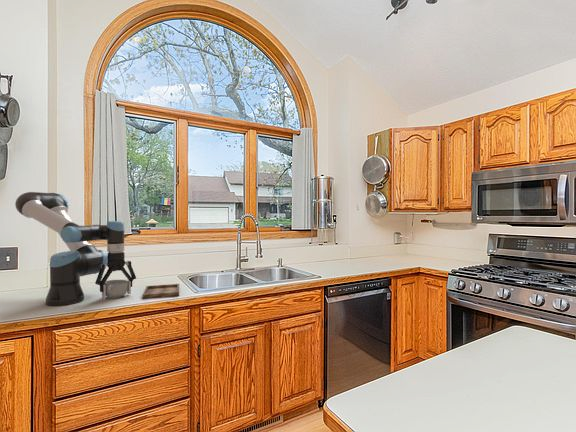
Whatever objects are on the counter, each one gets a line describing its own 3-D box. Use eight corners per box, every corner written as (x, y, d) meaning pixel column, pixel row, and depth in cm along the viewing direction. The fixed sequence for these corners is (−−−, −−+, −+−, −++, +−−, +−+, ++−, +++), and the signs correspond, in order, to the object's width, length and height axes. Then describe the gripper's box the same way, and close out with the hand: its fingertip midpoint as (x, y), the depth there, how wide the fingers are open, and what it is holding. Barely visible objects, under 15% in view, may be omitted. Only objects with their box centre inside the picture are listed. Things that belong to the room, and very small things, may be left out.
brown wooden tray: (142, 298, 160) (142, 294, 160) (146, 289, 179) (146, 285, 179) (179, 296, 165) (179, 292, 165) (179, 287, 184) (179, 283, 184)
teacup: (112, 294, 169) (111, 278, 169) (132, 294, 169) (132, 279, 168) (94, 301, 155) (94, 284, 155) (116, 301, 155) (116, 285, 155)
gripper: (92, 255, 151) (93, 302, 151) (142, 250, 169) (143, 292, 169) (86, 253, 156) (87, 299, 156) (136, 249, 174) (137, 290, 174)
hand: (116, 296), depth 163 cm, fingers closed on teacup, 11 cm apart
